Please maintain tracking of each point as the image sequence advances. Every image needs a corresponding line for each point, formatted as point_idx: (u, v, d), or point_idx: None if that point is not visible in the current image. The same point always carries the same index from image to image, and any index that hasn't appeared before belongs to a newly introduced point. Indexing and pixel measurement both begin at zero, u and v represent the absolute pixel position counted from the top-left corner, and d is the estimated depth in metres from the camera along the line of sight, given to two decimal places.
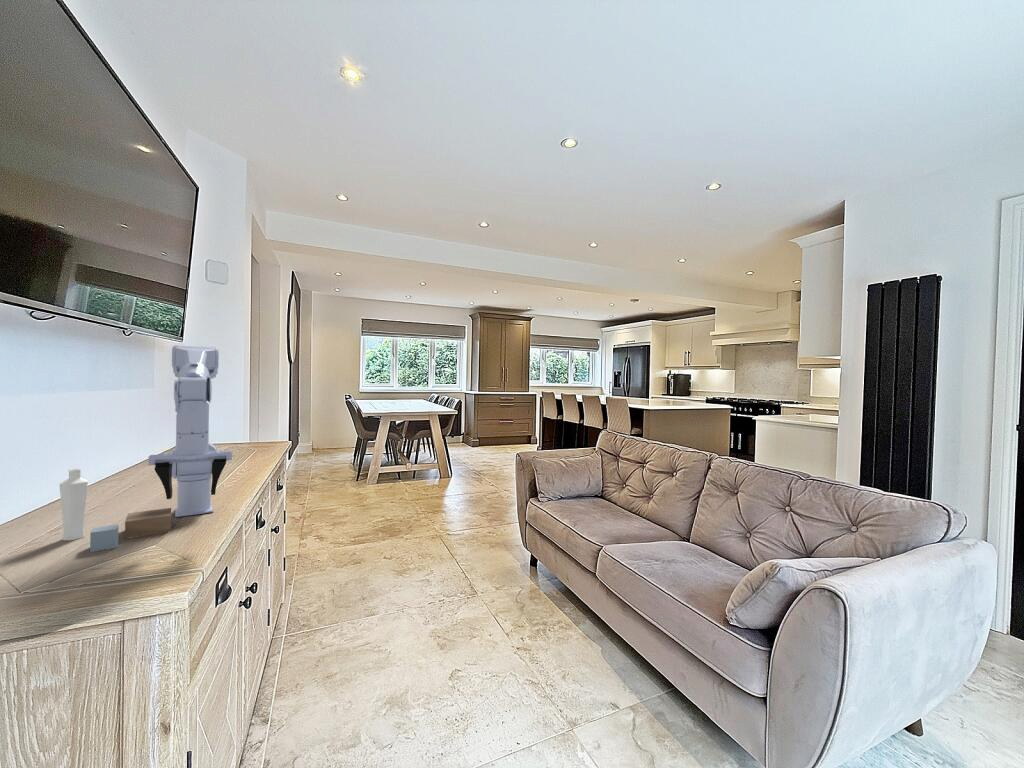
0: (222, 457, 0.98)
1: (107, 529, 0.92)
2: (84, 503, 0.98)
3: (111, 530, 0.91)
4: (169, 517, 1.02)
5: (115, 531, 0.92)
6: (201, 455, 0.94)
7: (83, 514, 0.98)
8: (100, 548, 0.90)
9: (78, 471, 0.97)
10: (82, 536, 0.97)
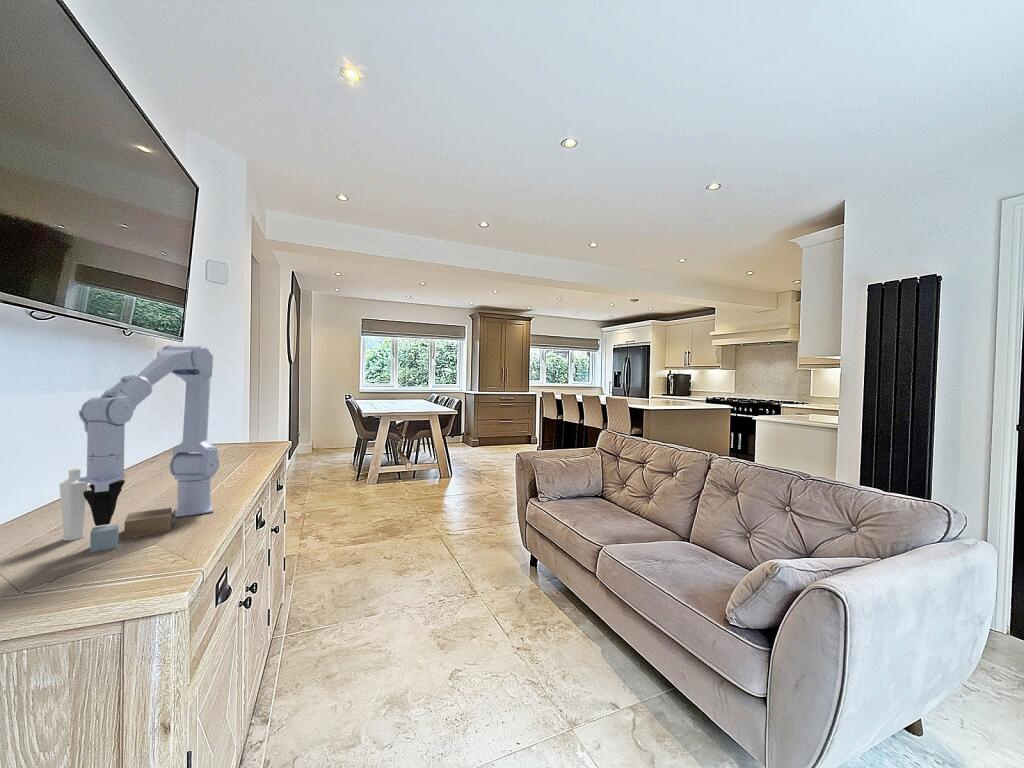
0: None
1: (107, 529, 0.92)
2: (84, 503, 0.98)
3: (111, 530, 0.91)
4: (168, 517, 1.02)
5: (115, 531, 0.92)
6: (87, 479, 0.89)
7: (83, 514, 0.98)
8: (100, 548, 0.90)
9: (78, 471, 0.97)
10: (82, 536, 0.97)
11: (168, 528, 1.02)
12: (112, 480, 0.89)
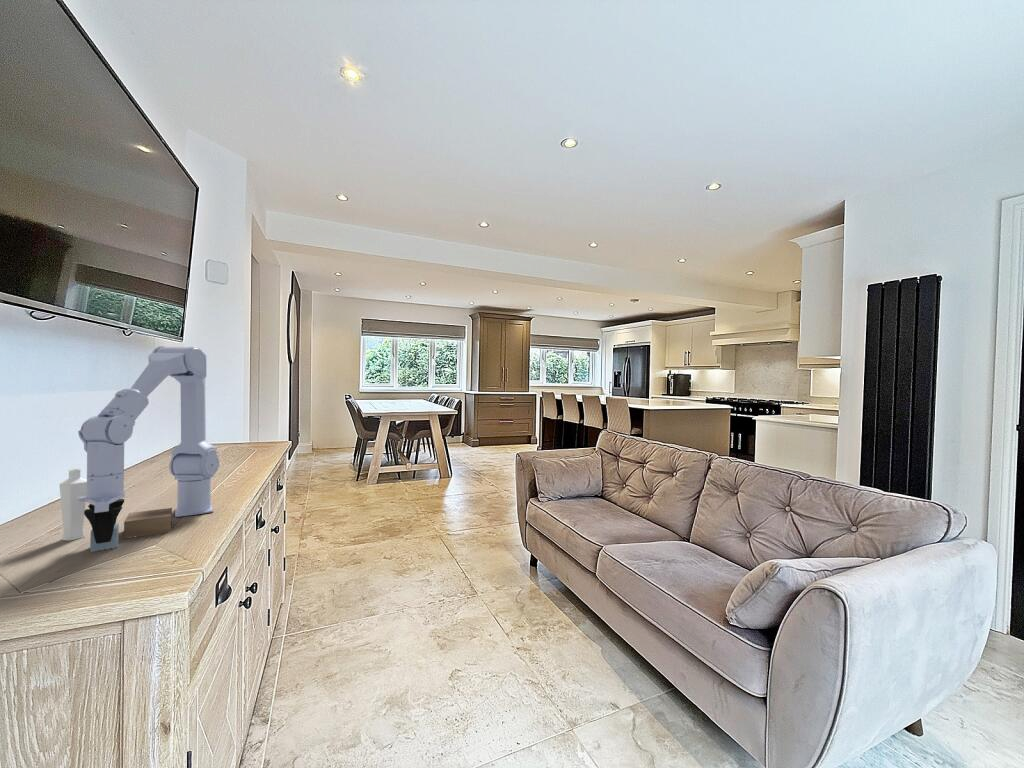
0: None
1: None
2: (84, 503, 0.98)
3: None
4: (168, 517, 1.02)
5: (115, 530, 0.92)
6: (87, 499, 0.89)
7: (83, 514, 0.98)
8: (100, 547, 0.90)
9: (78, 471, 0.97)
10: (82, 536, 0.97)
11: (168, 528, 1.02)
12: (112, 500, 0.89)
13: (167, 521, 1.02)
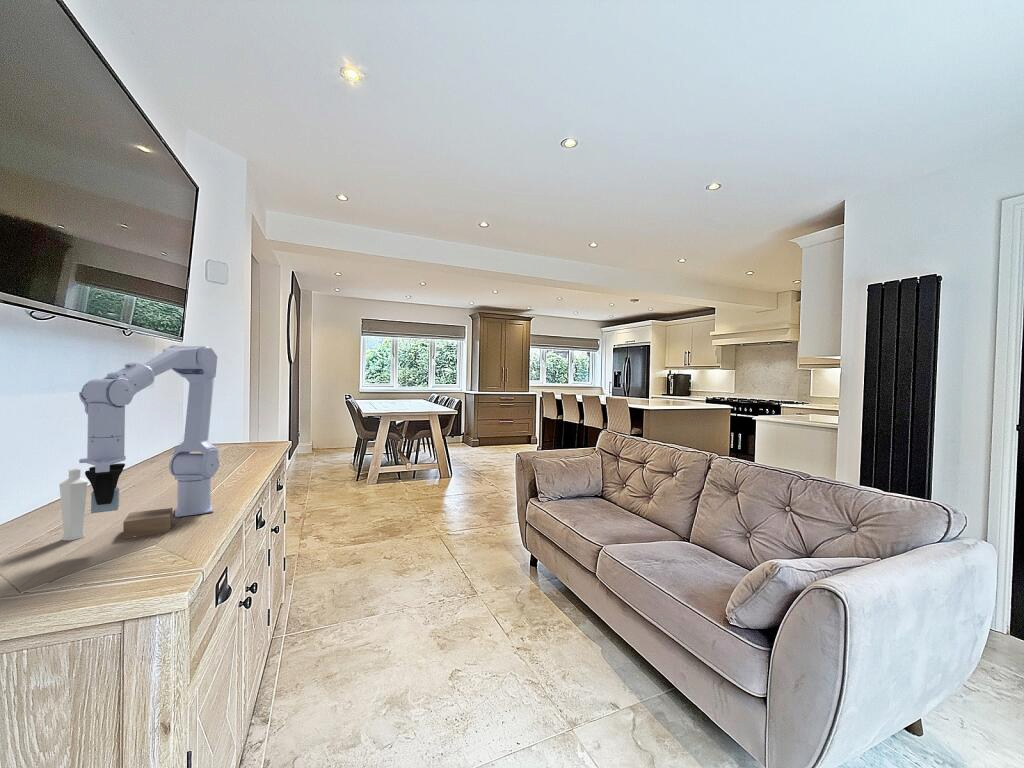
0: None
1: None
2: (84, 503, 0.98)
3: None
4: (167, 518, 1.01)
5: (116, 493, 0.92)
6: (87, 461, 0.89)
7: (83, 514, 0.98)
8: (101, 509, 0.90)
9: (78, 471, 0.97)
10: (82, 536, 0.97)
11: (167, 528, 1.01)
12: (113, 461, 0.89)
13: (166, 521, 1.01)
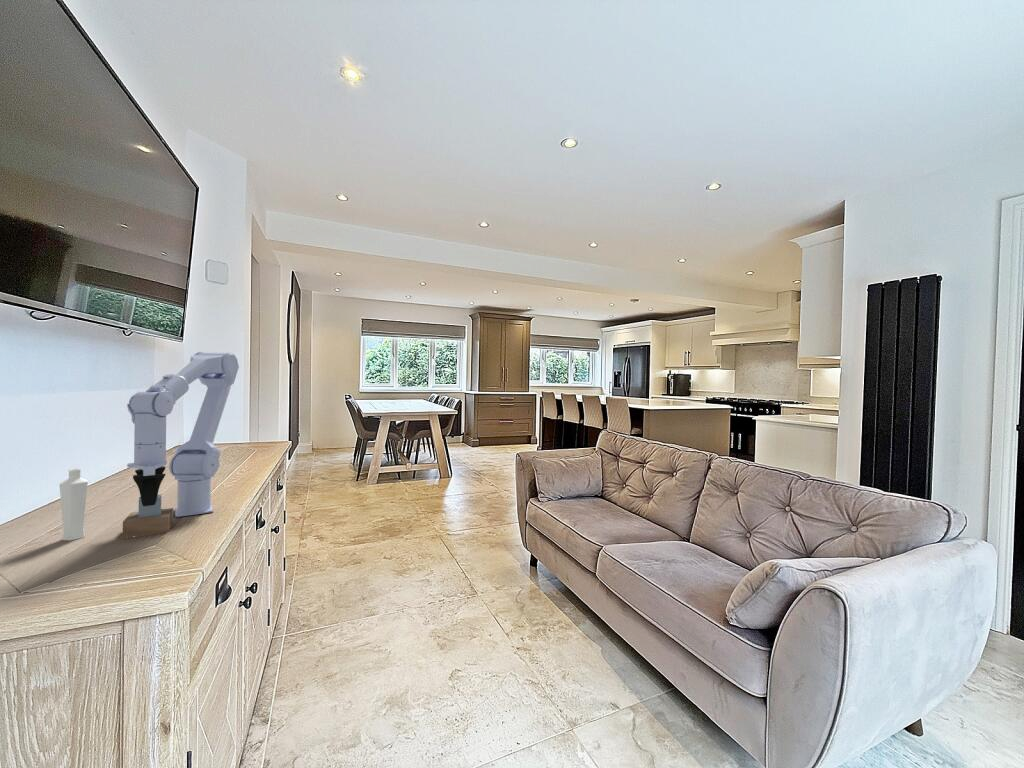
0: None
1: None
2: (84, 503, 0.98)
3: None
4: (166, 518, 1.01)
5: (160, 499, 1.02)
6: (135, 465, 1.00)
7: (83, 514, 0.98)
8: (147, 514, 1.01)
9: (78, 471, 0.97)
10: (82, 536, 0.97)
11: (166, 529, 1.01)
12: (157, 465, 1.00)
13: (165, 522, 1.01)
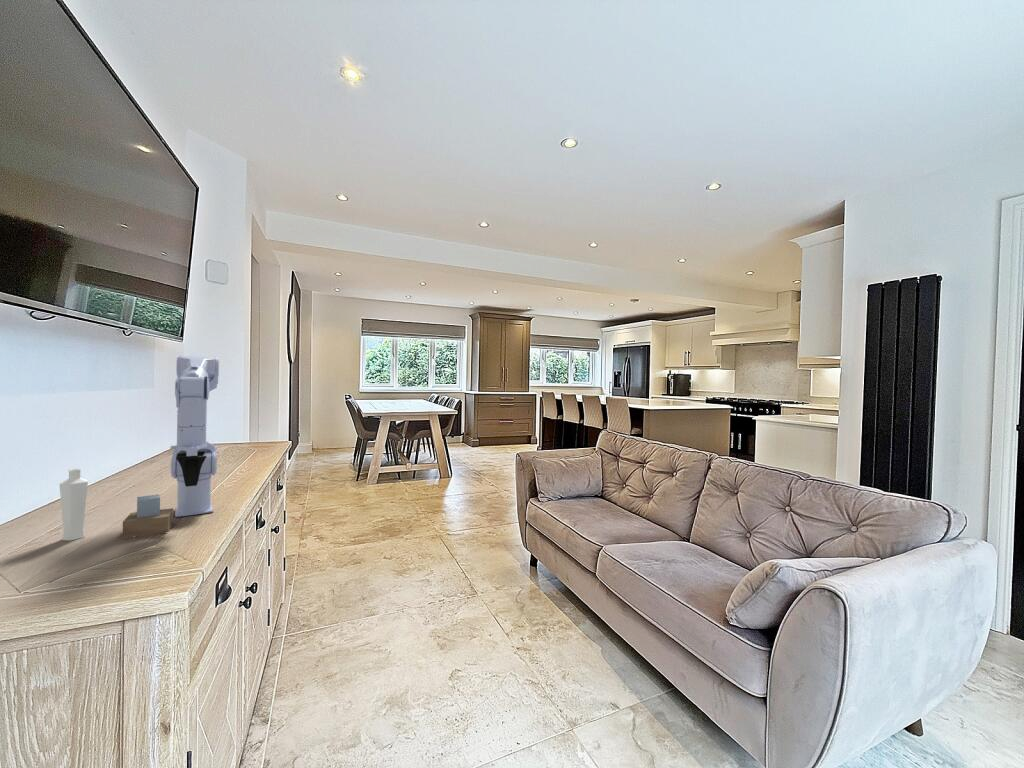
0: None
1: (151, 498, 1.02)
2: (84, 503, 0.98)
3: (155, 498, 1.02)
4: (166, 518, 1.01)
5: (158, 499, 1.02)
6: (178, 447, 1.03)
7: (83, 514, 0.98)
8: (145, 514, 1.01)
9: (78, 471, 0.97)
10: (82, 536, 0.97)
11: (166, 529, 1.01)
12: (199, 447, 1.03)
13: (165, 522, 1.01)
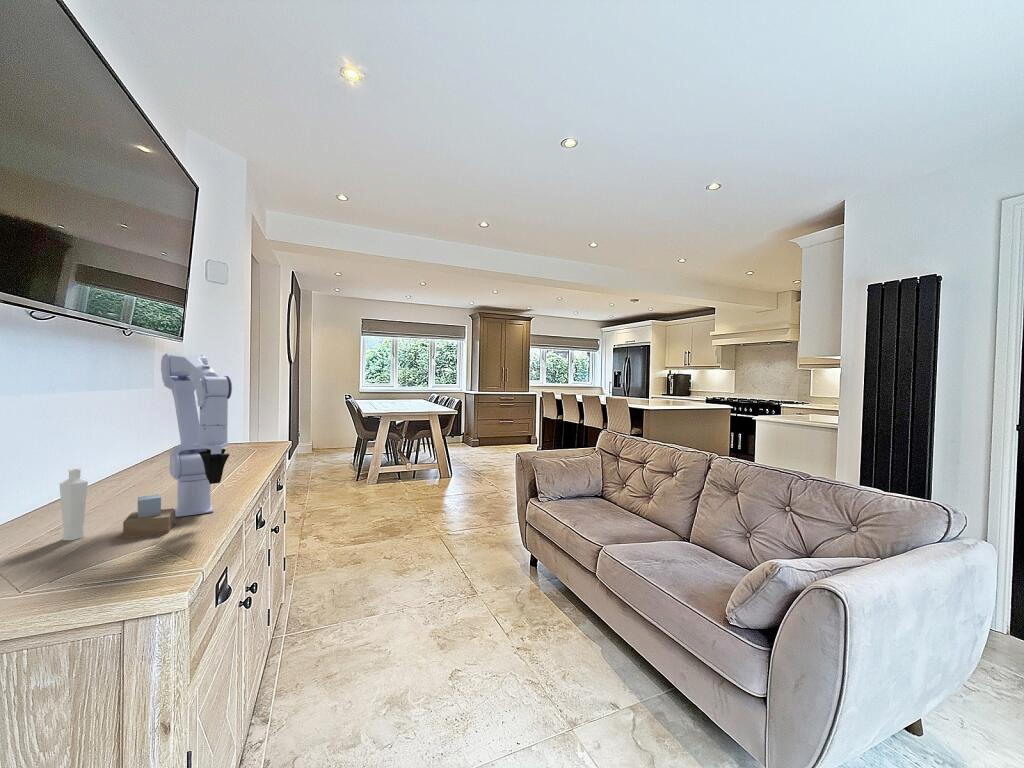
0: None
1: (152, 498, 1.02)
2: (84, 503, 0.98)
3: (156, 498, 1.02)
4: (167, 518, 1.01)
5: (159, 499, 1.03)
6: (201, 445, 1.06)
7: (83, 514, 0.98)
8: (147, 514, 1.01)
9: (78, 471, 0.97)
10: (82, 536, 0.97)
11: (166, 529, 1.01)
12: (222, 445, 1.05)
13: (166, 522, 1.01)
